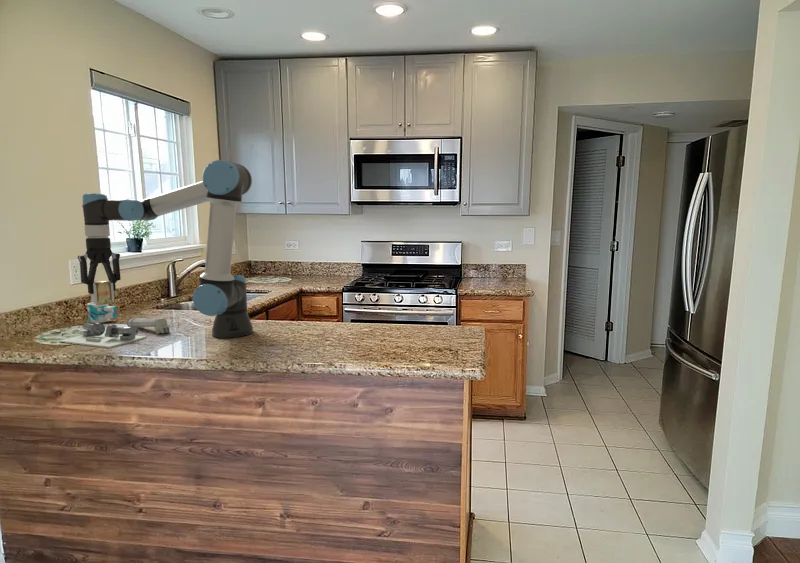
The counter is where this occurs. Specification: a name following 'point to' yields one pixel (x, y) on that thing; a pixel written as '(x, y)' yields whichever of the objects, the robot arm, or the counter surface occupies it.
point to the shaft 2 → (121, 332)
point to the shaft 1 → (93, 329)
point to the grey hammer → (150, 324)
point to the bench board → (100, 340)
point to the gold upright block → (103, 292)
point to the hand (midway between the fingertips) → (103, 301)
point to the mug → (100, 312)
